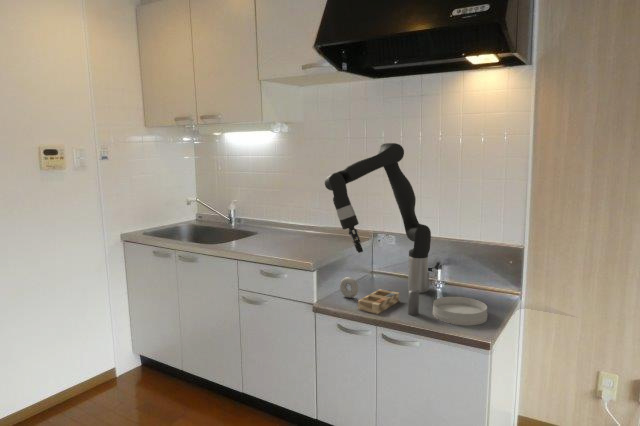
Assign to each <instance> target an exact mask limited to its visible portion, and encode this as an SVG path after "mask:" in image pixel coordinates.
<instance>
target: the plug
mask: <svg viewBox="0 0 640 426" xmlns="http://www.w3.org/2000/svg"><path fill="white" fill-rule="evenodd" d="M407 297H408V299H407V314H408V315H409V316H413V317H415V316H419V311H420V310H419V309H420V293H419V291H418V290H408V296H407Z"/></svg>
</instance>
